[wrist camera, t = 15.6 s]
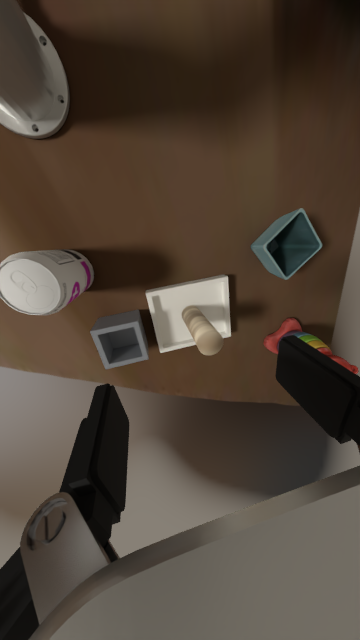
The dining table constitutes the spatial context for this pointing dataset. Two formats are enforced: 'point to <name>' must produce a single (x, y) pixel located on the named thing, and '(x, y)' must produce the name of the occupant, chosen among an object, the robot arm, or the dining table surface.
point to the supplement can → (44, 280)
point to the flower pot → (287, 244)
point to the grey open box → (120, 339)
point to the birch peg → (202, 331)
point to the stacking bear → (294, 328)
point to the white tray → (173, 300)
